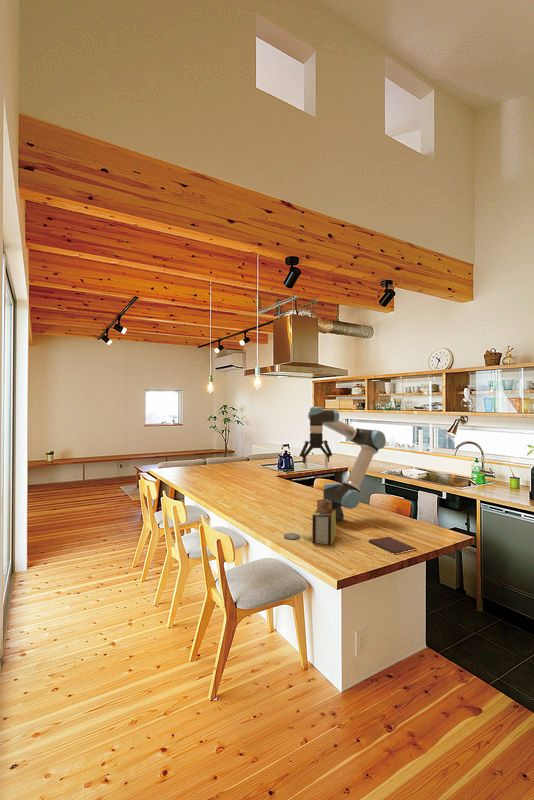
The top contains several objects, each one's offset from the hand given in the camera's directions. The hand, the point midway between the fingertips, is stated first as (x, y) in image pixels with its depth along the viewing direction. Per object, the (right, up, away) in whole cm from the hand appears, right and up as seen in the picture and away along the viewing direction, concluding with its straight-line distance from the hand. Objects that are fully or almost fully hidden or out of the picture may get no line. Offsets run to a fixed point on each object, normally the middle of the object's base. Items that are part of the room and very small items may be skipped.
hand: (316, 468), depth 236 cm
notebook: (+37, -38, -26) cm, 59 cm away
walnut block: (+2, -21, -18) cm, 27 cm away
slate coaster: (-15, -36, -14) cm, 42 cm away
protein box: (+2, -37, -18) cm, 41 cm away
